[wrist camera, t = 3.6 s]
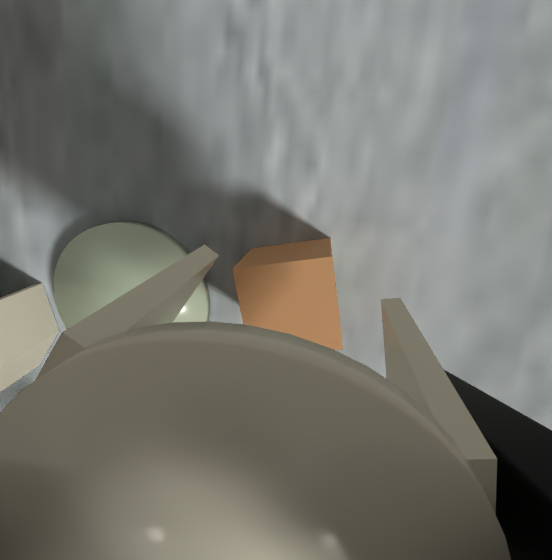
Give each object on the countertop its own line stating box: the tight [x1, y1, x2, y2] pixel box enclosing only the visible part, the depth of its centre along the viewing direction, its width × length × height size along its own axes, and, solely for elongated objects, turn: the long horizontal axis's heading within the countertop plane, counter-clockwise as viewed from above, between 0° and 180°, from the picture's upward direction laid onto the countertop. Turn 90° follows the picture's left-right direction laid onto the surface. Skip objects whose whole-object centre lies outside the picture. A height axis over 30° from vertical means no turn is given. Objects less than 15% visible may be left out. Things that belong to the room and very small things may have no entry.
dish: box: [54, 221, 210, 329], centre depth 19 cm, size 9×9×1 cm
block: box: [232, 238, 343, 350], centre depth 16 cm, size 4×4×4 cm
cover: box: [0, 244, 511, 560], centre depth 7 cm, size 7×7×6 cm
